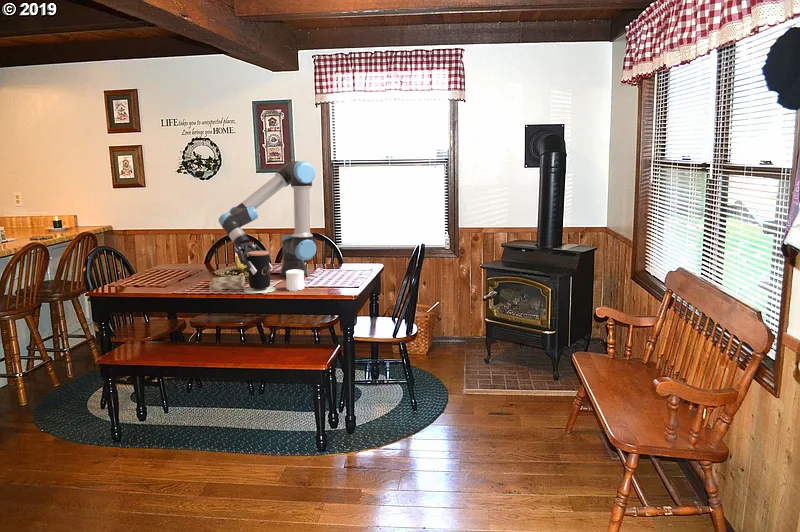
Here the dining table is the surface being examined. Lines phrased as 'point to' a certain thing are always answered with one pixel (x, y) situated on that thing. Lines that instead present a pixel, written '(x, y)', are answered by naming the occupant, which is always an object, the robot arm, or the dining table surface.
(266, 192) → the robot arm
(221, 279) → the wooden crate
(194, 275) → the dining table surface
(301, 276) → the cup
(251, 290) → the sage mat
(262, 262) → the coffee jar
